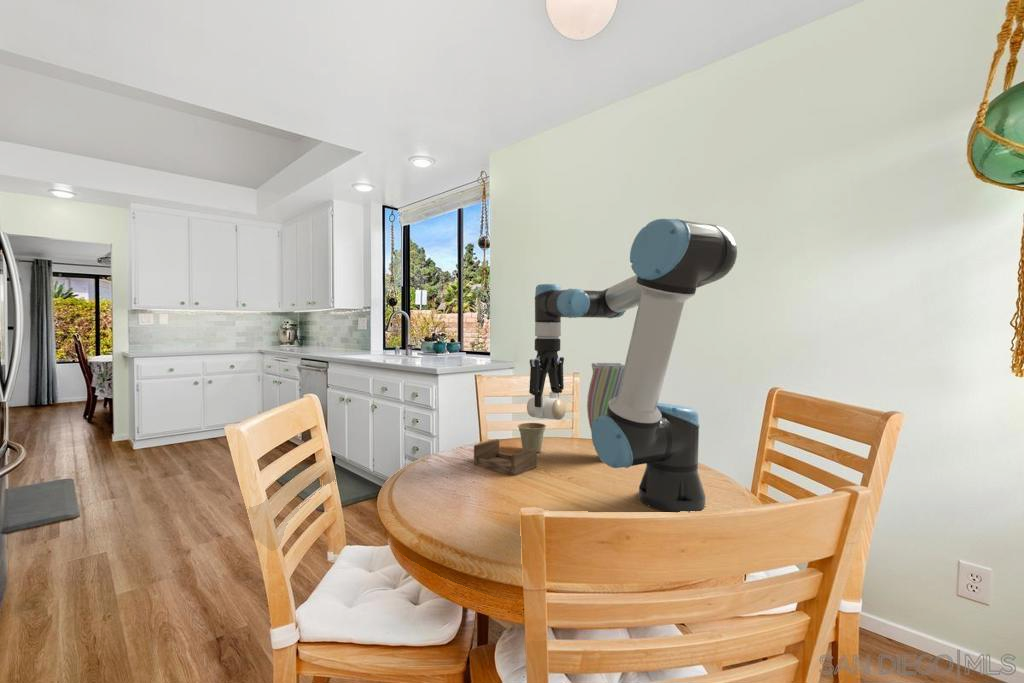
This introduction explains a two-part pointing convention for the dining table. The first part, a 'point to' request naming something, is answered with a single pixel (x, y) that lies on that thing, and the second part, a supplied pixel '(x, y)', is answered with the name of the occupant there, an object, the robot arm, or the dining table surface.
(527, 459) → the cradle
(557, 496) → the dining table surface
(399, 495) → the dining table surface
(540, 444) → the flower pot
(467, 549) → the dining table surface
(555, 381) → the robot arm
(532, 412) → the roll
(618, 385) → the vase
